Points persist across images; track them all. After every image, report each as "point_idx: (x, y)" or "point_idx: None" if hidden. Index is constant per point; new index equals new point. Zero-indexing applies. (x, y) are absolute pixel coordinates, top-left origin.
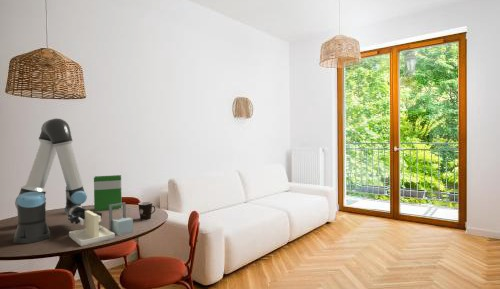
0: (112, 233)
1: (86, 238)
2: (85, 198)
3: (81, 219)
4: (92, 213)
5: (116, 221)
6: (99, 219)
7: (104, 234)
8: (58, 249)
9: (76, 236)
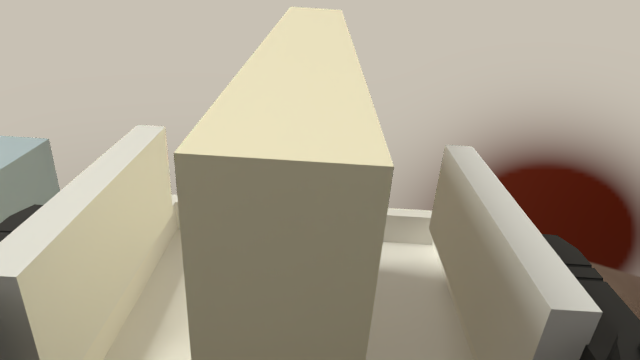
0: (172, 205)
1: (375, 343)
2: None
3: (481, 162)
4: (309, 29)
5: (16, 161)
6: (168, 177)
7: (162, 326)
8: (626, 303)
9: None
